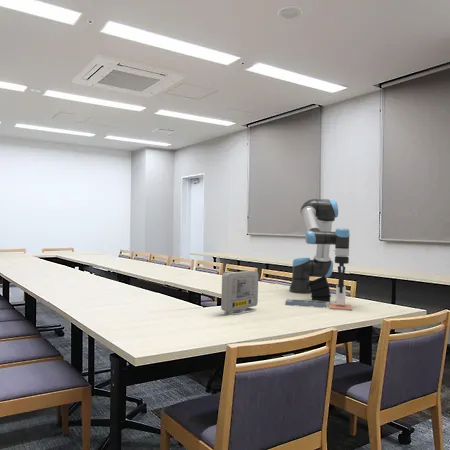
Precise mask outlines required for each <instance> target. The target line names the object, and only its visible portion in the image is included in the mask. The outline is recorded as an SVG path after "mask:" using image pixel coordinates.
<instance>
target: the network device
mask: <svg viewBox="0 0 450 450" xmlns="http://www.w3.org/2000/svg"><path fill="white" fill-rule="evenodd" d="M220 297H221V302H220V303H221V305H220V309H221V311H223V313H224V314H226V315H232V316H240V315H245V314H250V313H252V312H256V310H257V309H256V308H253V307H256V306H257V305H258V302H259V301H258V299H259V298H258V297H259V271H257V270H244V271H234V272H223V274H222V276H221V296H220ZM233 312H236V313H233Z"/></svg>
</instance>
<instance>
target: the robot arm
mask: <svg viewBox="0 0 450 450" xmlns="http://www.w3.org/2000/svg"><path fill="white" fill-rule="evenodd" d="M300 216H301V218H302V219H303V221H304V224H305V227H306V232H305V236H304V238H305V243H306V244H307V245H316V253H315V255H314V256H313V258H312V259H311V258H310V257H298V258H294V259H293V261H292V278H291V283H290V285H289V289H288V291H289V292H291V293H294V294H311V292H310V291H311V288H310V286H308V282H311V280H310V278H311V277H312V278H313V277H315V278H321V277H323V276H325V277H327V278H329V277H331V276H332V273H333V272H334V271H333V268H334V263H335V264H339V265H338V266H337V274H338V283H337V285H339V286H337V287H339V289H338V299H343V294H344V286H345V275H346V274H345V272H346V266H345V265H346V264H349V263H350V262H349V261H350V259H349V258H350V257H349V256H350V236H351V233H350V229H349V228H340V227H339V228H338V227H337V228H335V231H332V228H333V227H332V226H333V222H335V220H336V218H338V216H339V206H338V203H337V201H336V200H335V199H328V198H320V199H319V198H318V199H317V198H312V199H308V200H307V201H305V202H304V203H303V204H302V205H301V207H300ZM332 245H334V247H335V248H334V250H333V252H334V255H335V256H334V262H333V260H332V258H331V257H330V248H331V246H332Z"/></svg>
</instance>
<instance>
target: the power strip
mask: <svg viewBox="0 0 450 450" xmlns="http://www.w3.org/2000/svg"><path fill="white" fill-rule="evenodd" d="M326 302H327V301H316V300H307V299H305V300H304V299H290V298H288V299H285V303H284V304H285V306H294V305H299V306H298V307H309V306H314V307H313V308H323V307H325V308H326V305H327V304H326Z"/></svg>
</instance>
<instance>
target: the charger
mask: <svg viewBox="0 0 450 450" xmlns="http://www.w3.org/2000/svg"><path fill="white" fill-rule="evenodd" d="M335 286H336V288H335V304H340V305H345V304H346V296H347V295H346V292H347V291H346V290H347V287H346V285H344V294H343V299H338V289H339V287H337V286H339V285H338V284H337V285H335Z"/></svg>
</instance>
